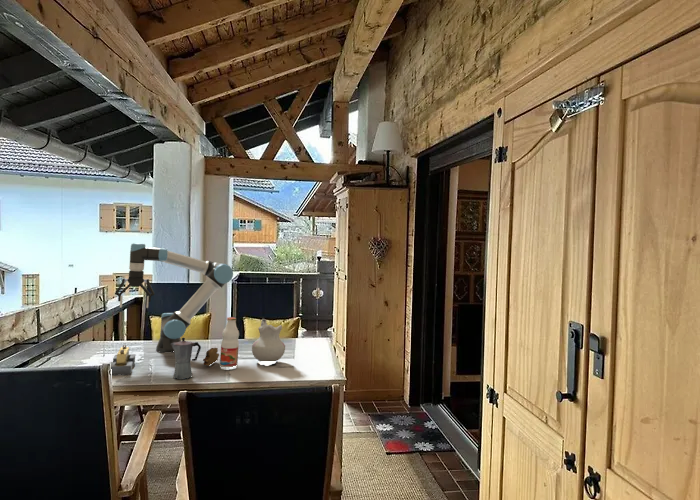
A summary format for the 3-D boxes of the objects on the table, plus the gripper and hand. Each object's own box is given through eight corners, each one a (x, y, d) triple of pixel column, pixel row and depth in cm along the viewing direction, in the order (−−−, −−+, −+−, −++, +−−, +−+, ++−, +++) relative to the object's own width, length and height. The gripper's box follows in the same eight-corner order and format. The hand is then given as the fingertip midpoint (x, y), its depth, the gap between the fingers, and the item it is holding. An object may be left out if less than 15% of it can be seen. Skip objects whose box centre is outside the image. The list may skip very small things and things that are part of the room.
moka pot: (171, 373, 225) (173, 335, 225) (201, 374, 227) (204, 336, 227) (164, 379, 216) (167, 339, 216) (196, 380, 217) (199, 340, 217)
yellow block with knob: (119, 362, 234) (121, 344, 234) (128, 361, 236) (129, 344, 236) (116, 370, 220) (117, 351, 220) (124, 369, 222) (126, 351, 222)
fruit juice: (240, 367, 244) (243, 317, 244) (230, 371, 236) (233, 320, 235) (226, 364, 248) (230, 315, 248) (215, 368, 239) (219, 317, 239)
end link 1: (114, 362, 237) (115, 354, 237) (134, 362, 241) (135, 354, 241) (112, 367, 230) (113, 358, 230) (133, 366, 233) (134, 358, 233)
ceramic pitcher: (242, 362, 259) (242, 321, 257) (269, 355, 273) (269, 316, 271) (264, 371, 244) (264, 327, 242) (291, 363, 258) (292, 322, 256)
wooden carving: (211, 361, 252) (212, 344, 252) (219, 362, 252) (220, 345, 252) (200, 369, 236) (201, 351, 236) (209, 370, 236) (210, 351, 236)
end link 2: (130, 374, 219) (131, 365, 219) (108, 375, 216) (108, 366, 216) (132, 370, 227) (132, 361, 227) (110, 371, 223) (111, 362, 223)
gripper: (110, 269, 241) (108, 308, 241) (160, 271, 250) (157, 308, 250) (112, 268, 248) (110, 306, 248) (160, 270, 257) (158, 306, 257)
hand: (134, 307), depth 249 cm, fingers open, 13 cm apart
